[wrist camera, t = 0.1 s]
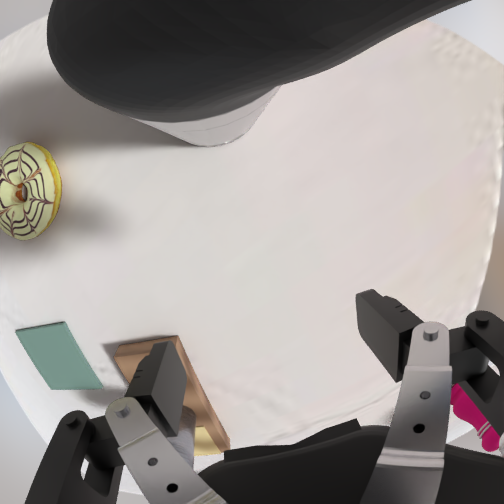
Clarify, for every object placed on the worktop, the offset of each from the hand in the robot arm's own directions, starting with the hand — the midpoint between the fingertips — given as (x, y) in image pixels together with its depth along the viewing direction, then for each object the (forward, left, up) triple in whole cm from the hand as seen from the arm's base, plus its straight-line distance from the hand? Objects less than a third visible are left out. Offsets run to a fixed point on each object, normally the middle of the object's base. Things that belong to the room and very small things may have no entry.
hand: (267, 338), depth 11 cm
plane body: (+21, -14, -17) cm, 30 cm away
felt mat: (+11, -30, -17) cm, 36 cm away
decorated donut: (-11, -22, -18) cm, 30 cm away
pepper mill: (+42, +35, -17) cm, 57 cm away
